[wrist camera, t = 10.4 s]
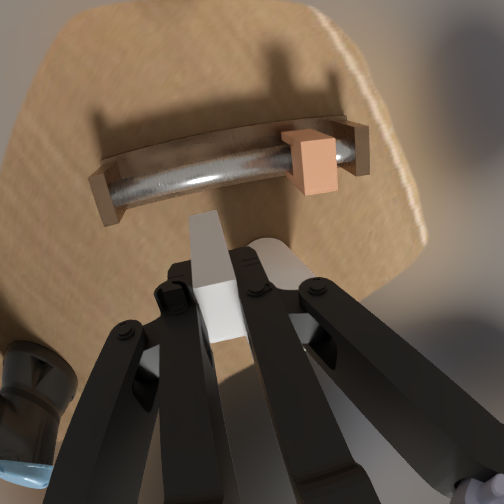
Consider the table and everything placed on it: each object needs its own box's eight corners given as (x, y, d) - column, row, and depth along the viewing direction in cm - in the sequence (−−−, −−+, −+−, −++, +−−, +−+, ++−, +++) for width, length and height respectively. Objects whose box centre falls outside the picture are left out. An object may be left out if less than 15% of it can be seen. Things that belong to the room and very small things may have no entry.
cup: (239, 221, 35) (260, 281, 25) (309, 235, 37) (351, 293, 27) (221, 285, 39) (233, 355, 29) (285, 293, 41) (314, 359, 31)
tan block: (285, 176, 30) (305, 195, 25) (280, 132, 27) (300, 141, 22) (313, 172, 30) (337, 190, 25) (310, 128, 28) (335, 137, 23)
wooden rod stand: (116, 209, 31) (104, 232, 27) (101, 159, 28) (84, 173, 23) (346, 164, 34) (371, 179, 29) (344, 115, 30) (370, 121, 26)
